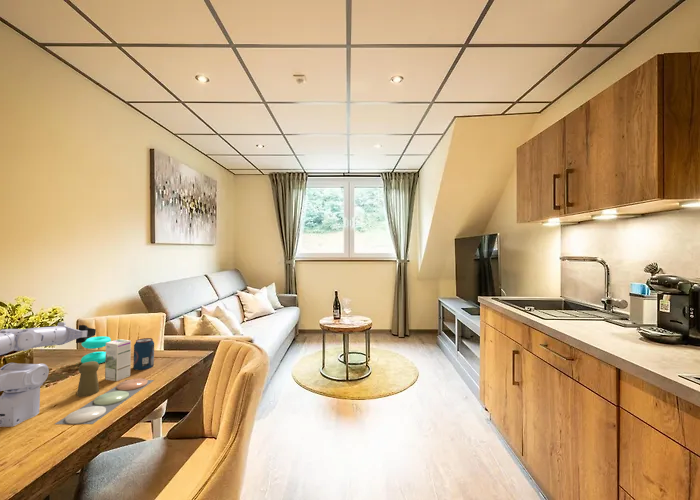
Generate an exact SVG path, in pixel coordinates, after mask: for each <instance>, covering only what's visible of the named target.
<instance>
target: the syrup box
mask: <svg viewBox="0 0 700 500" xmlns="http://www.w3.org/2000/svg"><path fill="white" fill-rule="evenodd" d="M131 350H132V340H130V339H129V340H128V339H123V338H122V339H121V338H120V339H119V338H118V339H114V340H111V341H110V342H107V343H106V346H105V352H106V359H105V362H104V363H105V365H104V367H105V368H104V369H105V370H104V379H105V380H106V381H110V382H111V381H112V382H118V381H121V380H123V379H125V378H129V377H130V376H131V362H132V361H131V360H132V359H131V354H132V351H131Z"/></svg>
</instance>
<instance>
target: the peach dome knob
mask: <svg viewBox="0 0 700 500" xmlns="http://www.w3.org/2000/svg"><path fill="white" fill-rule="evenodd" d="M126 380H127V381H125V380H124V381H121V382H119V383H118V384H117V385H116V386H117V390H120V391H128V390H134V389H138V388H141V387H143V386H145V385H147V383H148V380H149V379H146V378H132V379H126ZM147 386H148V385H147Z"/></svg>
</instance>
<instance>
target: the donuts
mask: <svg viewBox="0 0 700 500" xmlns="http://www.w3.org/2000/svg"><path fill="white" fill-rule="evenodd" d="M110 341H112V339H111V337H110V336H104V335H101V336H93V337H90V338H88V339H87V340H86V341H85V342H83V343H80V345H81V346H82V347H83V348H84V349H89V350H92V349H93V350H95V349H100V348H101V349H102V348H104V347H106V343H107V342H110ZM105 359H106V351H92V352H89V353H87V354H85V355H83V356H82V357H81V359H80V363H81V364H83V363H85V362H90V361H95V362H98V364H99V365H100V364H102V363H105Z"/></svg>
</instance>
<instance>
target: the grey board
mask: <svg viewBox="0 0 700 500" xmlns="http://www.w3.org/2000/svg"><path fill="white" fill-rule="evenodd" d="M127 380H128V379H126V380H124V381H127ZM147 380H148V383H147V385H145V386H143V387H141V388H138V389H134V390H128V391H126V392H128V393H129V397H128V398H127V399H125V400H124V401H121V402H119V403H115V404H111V405H104V406H103V407H105V408H106V413H105V414H104V415H103V416H101V417H99V418H97V419H95V420H92V421H89V422H85V423H80V424H79V425H94V424H95V423H96V422H97V421H99V420H101V419H102V418H104V416H106V415H108V414H109V413H110V412H112V411H113V410H115V409H116V408H117V407H119V406H120V405H122V404H123V403H124V402H125V401H127V400H129V399H130V398H132V397H133V396H134V395H136V394H138V393H139V392H140V391H141V390H143V389H144V388H145V387H147V386H149V385H150V384H151V383H152V382H154V381H155V379H150V380H149V379H147ZM114 391H120V390H117V385H116V386H114V387H113V388H111V389H109V390H107V391H106V392H104V393H103V394H105V393H109V392H114ZM91 406H99V405H95V404H94V399H93V400H91V401H90V402H88V403H86V404H85V405H83V406H81V407H79V409H82V408H86V407H91ZM79 409H77V410H79ZM65 418H66V416H65V417H64V418H62V419H60V420H59V421H57V422H55V423H54V425H69V424H68V423H66V422H65Z"/></svg>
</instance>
